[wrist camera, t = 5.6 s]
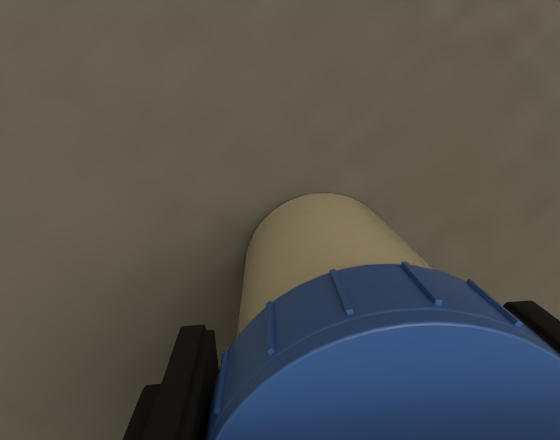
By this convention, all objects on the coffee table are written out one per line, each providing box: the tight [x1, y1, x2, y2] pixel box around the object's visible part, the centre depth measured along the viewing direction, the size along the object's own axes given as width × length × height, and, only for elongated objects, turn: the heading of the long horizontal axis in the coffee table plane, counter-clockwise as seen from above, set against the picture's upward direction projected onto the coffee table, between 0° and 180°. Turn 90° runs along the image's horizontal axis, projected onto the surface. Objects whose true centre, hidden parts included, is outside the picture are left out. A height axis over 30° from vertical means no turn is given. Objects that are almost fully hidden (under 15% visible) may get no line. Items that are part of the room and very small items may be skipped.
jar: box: [237, 193, 433, 337], centre depth 12 cm, size 6×6×10 cm
